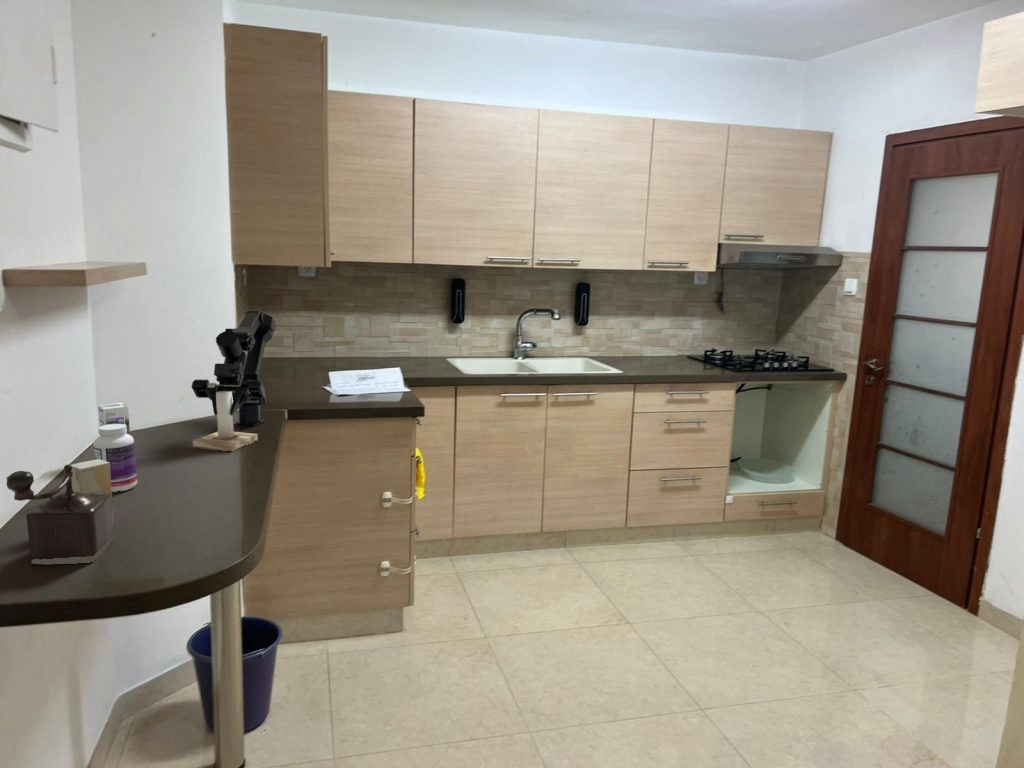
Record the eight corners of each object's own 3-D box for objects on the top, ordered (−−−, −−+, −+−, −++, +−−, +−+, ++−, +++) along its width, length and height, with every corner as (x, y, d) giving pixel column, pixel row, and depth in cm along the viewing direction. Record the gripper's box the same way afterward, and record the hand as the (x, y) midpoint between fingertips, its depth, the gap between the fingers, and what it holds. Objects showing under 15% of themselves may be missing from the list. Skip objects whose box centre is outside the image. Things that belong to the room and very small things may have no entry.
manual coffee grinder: (52, 542, 133) (42, 449, 130) (116, 539, 135) (109, 447, 132) (10, 580, 118) (-2, 475, 115) (83, 576, 120) (74, 474, 117)
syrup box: (107, 465, 179) (103, 408, 177) (102, 459, 184) (97, 404, 181) (132, 461, 183) (128, 405, 180) (126, 455, 187) (122, 401, 185)
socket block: (221, 437, 207) (220, 430, 207) (257, 440, 205) (257, 434, 204) (193, 447, 196) (192, 440, 196) (231, 452, 193) (231, 444, 193)
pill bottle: (144, 482, 167) (140, 422, 164) (125, 494, 159) (120, 431, 156) (110, 481, 167) (105, 421, 165) (89, 493, 159) (84, 430, 157)
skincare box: (82, 529, 140) (77, 469, 137) (70, 524, 142) (65, 465, 140) (115, 519, 145) (110, 461, 143) (103, 514, 147) (98, 457, 145)
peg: (220, 434, 202) (218, 391, 199) (235, 434, 202) (233, 391, 200) (216, 438, 198) (214, 394, 195) (231, 438, 198) (229, 394, 196)
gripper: (191, 351, 199) (179, 398, 190) (260, 352, 200) (251, 399, 191) (203, 373, 208) (191, 420, 199) (269, 374, 209) (260, 420, 201)
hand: (223, 414), depth 197 cm, fingers closed on peg, 4 cm apart
